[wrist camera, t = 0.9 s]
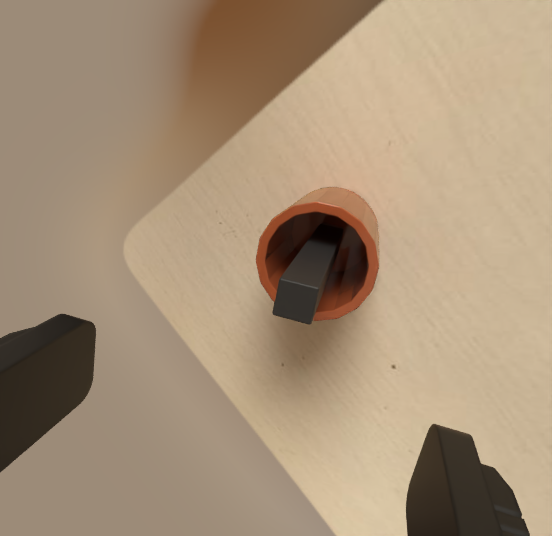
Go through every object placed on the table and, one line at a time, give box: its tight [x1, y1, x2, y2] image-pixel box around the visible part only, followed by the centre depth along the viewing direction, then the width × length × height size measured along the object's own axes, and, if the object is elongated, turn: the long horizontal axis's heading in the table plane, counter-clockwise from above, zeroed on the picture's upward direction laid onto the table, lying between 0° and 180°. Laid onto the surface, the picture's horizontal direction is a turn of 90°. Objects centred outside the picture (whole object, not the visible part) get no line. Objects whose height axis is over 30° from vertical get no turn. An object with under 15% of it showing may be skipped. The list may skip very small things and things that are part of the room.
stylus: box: [273, 223, 344, 324], centre depth 23 cm, size 2×2×13 cm
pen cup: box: [256, 187, 379, 321], centre depth 26 cm, size 6×6×8 cm
